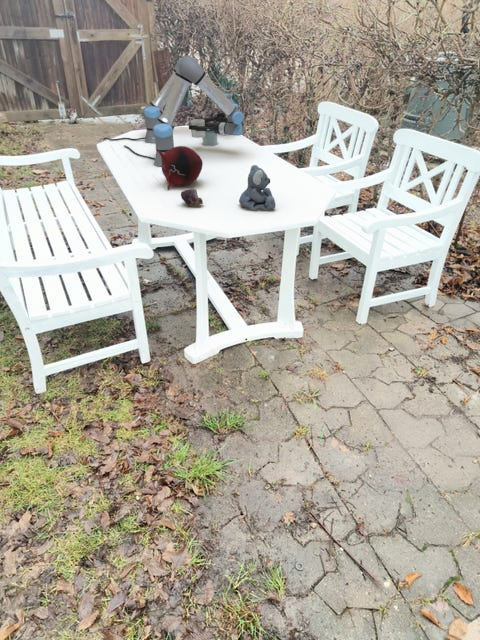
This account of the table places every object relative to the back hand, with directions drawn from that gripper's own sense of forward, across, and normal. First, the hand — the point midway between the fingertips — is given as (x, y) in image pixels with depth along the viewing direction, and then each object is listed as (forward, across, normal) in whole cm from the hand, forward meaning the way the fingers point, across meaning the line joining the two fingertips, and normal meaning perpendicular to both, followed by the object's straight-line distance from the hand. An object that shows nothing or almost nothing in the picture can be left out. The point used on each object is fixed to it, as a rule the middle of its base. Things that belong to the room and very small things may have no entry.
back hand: (213, 122), depth 338 cm
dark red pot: (+103, -13, -14) cm, 105 cm away
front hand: (+28, +7, +2) cm, 28 cm away
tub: (+10, 0, -13) cm, 16 cm away
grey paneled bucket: (+28, +3, -4) cm, 29 cm away
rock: (+136, -30, -14) cm, 140 cm away
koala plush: (+129, -63, -13) cm, 144 cm away
